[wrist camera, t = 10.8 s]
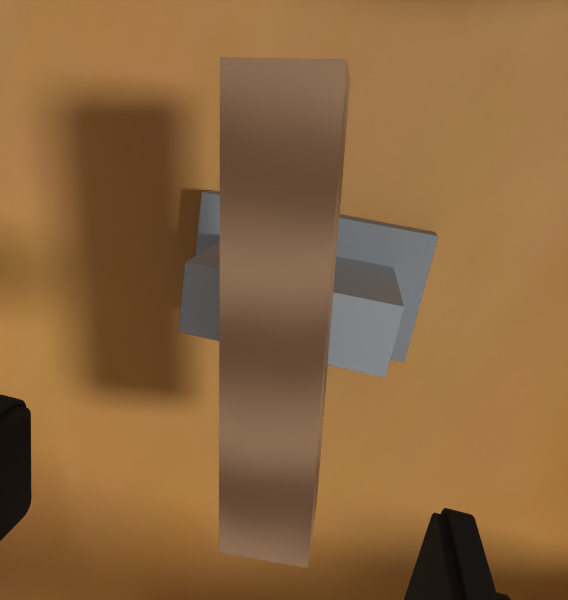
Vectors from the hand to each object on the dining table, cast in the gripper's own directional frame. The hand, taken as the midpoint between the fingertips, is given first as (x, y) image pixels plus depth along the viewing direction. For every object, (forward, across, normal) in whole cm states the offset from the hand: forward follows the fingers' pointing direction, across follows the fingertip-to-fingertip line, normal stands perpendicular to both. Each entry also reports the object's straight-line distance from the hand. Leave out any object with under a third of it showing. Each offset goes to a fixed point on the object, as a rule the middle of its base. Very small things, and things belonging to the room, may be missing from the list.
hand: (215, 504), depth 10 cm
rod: (+12, 0, 0) cm, 12 cm away
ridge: (+21, +1, 0) cm, 21 cm away
